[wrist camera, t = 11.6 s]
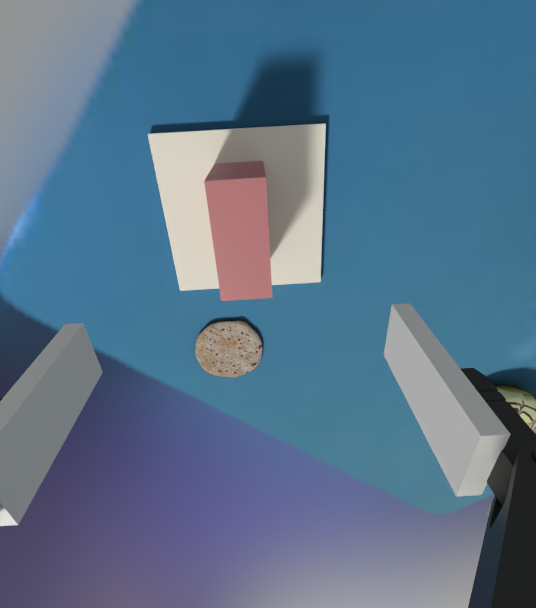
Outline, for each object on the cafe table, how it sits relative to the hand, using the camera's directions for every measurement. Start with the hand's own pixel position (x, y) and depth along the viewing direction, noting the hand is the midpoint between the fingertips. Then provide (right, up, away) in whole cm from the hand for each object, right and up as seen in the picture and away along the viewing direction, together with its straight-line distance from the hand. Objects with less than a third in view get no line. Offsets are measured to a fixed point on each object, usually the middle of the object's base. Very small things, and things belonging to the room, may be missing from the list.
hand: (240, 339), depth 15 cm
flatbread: (-3, -3, +24) cm, 24 cm away
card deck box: (-1, +9, +15) cm, 18 cm away
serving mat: (-1, +10, +16) cm, 19 cm away
